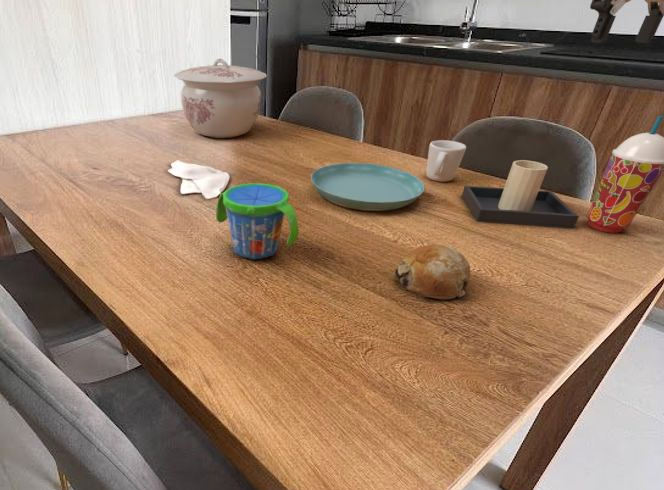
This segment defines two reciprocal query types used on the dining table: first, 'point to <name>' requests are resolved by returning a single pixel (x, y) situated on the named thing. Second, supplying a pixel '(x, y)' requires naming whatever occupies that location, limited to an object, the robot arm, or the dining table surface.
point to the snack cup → (256, 218)
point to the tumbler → (522, 185)
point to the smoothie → (627, 181)
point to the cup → (444, 160)
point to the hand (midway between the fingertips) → (619, 42)
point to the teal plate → (366, 186)
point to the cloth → (200, 179)
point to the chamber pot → (221, 98)
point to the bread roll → (434, 272)
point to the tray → (543, 211)
